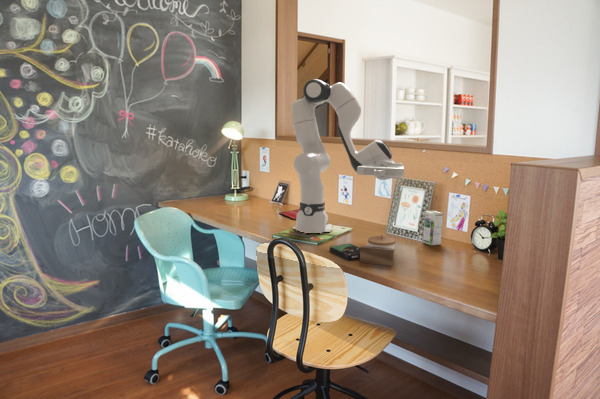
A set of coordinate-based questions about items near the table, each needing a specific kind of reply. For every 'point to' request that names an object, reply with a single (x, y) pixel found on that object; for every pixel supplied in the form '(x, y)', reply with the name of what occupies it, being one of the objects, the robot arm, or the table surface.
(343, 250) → the disk drive
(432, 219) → the syrup box
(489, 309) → the table surface
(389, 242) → the lidded jar
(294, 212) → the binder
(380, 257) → the walnut board
